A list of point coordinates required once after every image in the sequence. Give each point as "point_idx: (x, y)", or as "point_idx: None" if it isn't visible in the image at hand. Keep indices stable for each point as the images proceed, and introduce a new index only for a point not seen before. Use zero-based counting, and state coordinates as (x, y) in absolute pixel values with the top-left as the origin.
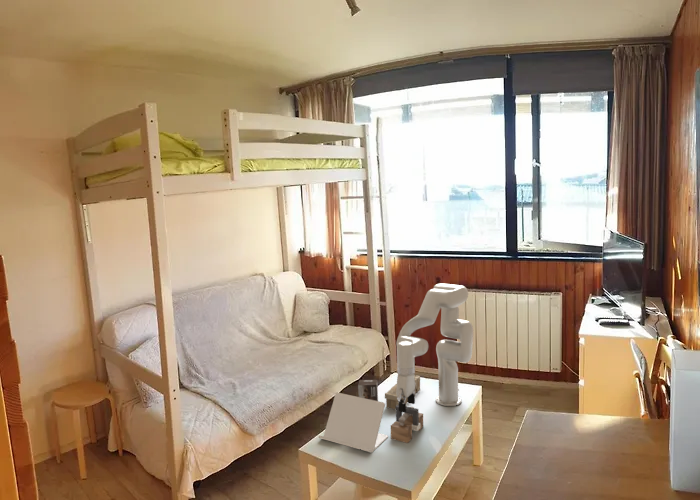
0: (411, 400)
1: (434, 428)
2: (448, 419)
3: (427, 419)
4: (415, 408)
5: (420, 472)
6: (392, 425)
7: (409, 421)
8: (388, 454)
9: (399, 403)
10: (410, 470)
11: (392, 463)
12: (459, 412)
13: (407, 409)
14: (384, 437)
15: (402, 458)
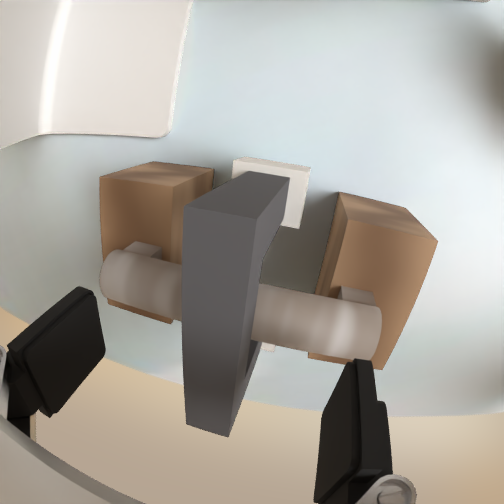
0: (331, 428)
1: None
2: (445, 394)
3: (453, 316)
4: (226, 422)
5: None
6: (108, 189)
7: (328, 260)
8: (47, 204)
9: (19, 349)
10: (29, 299)
11: (22, 238)
12: (493, 407)
13: (183, 358)
14: (138, 125)
15: (53, 265)
